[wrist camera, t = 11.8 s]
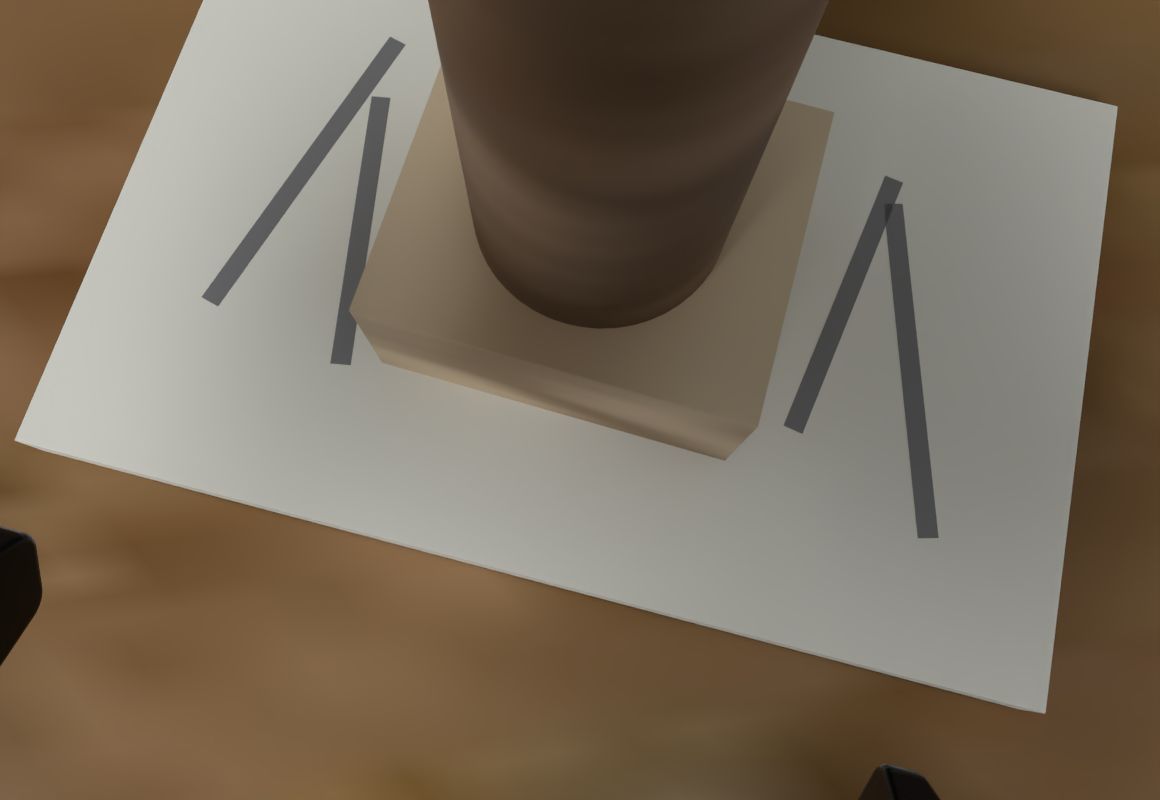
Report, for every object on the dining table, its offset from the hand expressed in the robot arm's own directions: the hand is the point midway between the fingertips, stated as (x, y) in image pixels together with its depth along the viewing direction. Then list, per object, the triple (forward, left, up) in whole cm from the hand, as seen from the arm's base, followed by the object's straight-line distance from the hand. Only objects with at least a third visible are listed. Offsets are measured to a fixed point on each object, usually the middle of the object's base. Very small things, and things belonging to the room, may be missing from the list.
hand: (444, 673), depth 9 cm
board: (+5, -7, -8) cm, 12 cm away
